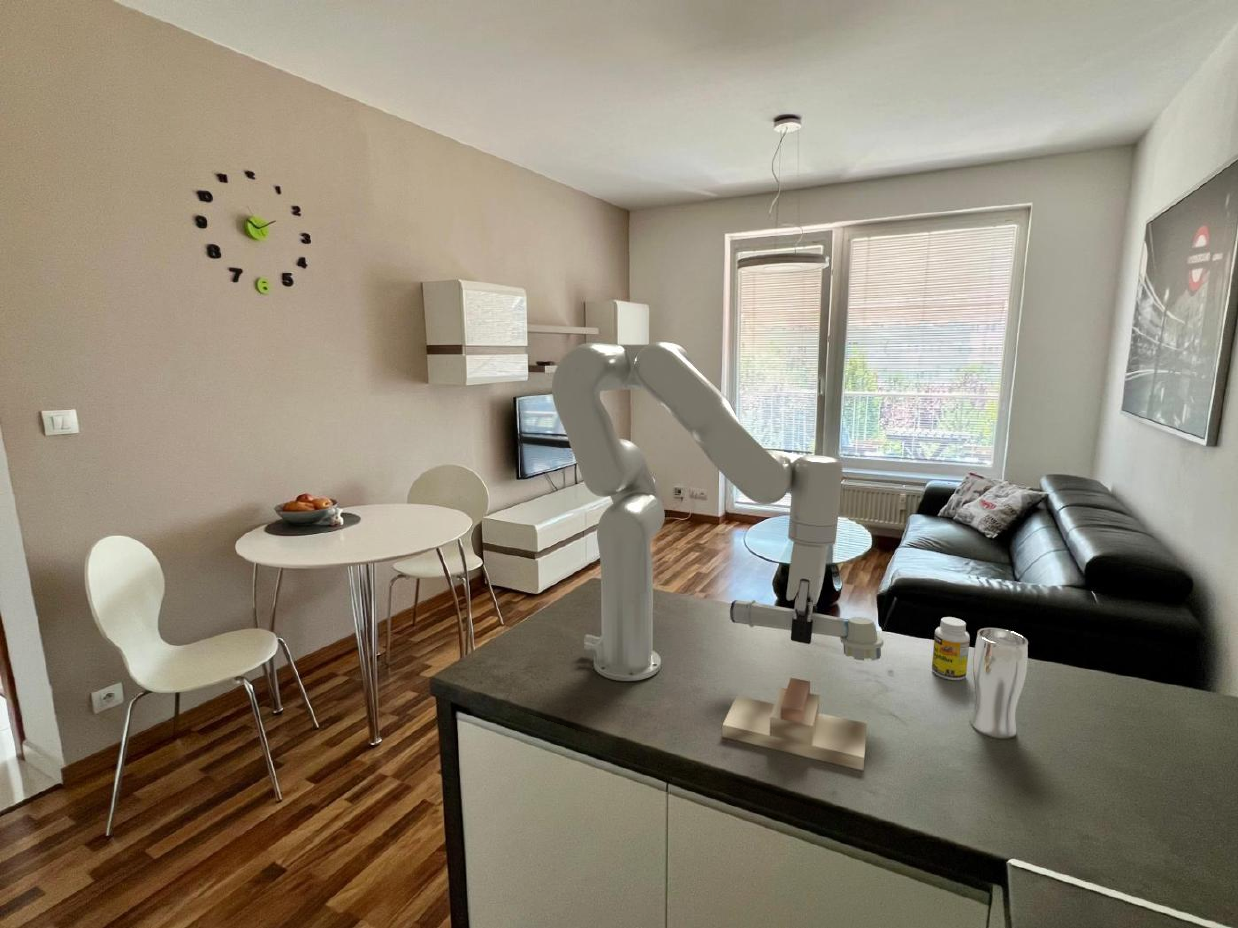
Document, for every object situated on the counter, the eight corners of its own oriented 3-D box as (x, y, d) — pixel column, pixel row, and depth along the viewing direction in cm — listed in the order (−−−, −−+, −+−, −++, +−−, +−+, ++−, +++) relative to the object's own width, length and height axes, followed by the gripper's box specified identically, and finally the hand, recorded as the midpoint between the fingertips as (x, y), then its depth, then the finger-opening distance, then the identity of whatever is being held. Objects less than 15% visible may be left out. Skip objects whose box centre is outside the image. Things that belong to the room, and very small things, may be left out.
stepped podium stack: (722, 736, 95) (723, 694, 93) (736, 706, 103) (737, 667, 101) (863, 770, 87) (866, 724, 85) (866, 735, 95) (868, 692, 94)
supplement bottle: (924, 670, 115) (928, 617, 113) (946, 664, 117) (950, 612, 115) (951, 684, 110) (955, 629, 108) (973, 678, 112) (978, 624, 110)
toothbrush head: (739, 595, 114) (884, 611, 100) (741, 630, 115) (886, 651, 101) (727, 604, 110) (877, 622, 96) (729, 640, 110) (879, 663, 96)
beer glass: (1001, 745, 92) (1011, 650, 90) (957, 721, 98) (965, 632, 96) (1029, 732, 95) (1039, 640, 93) (984, 710, 101) (993, 623, 99)
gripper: (796, 516, 111) (788, 611, 115) (780, 541, 96) (771, 650, 99) (840, 522, 108) (831, 619, 112) (831, 548, 93) (820, 661, 96)
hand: (803, 633), depth 105 cm, fingers closed on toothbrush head, 5 cm apart
